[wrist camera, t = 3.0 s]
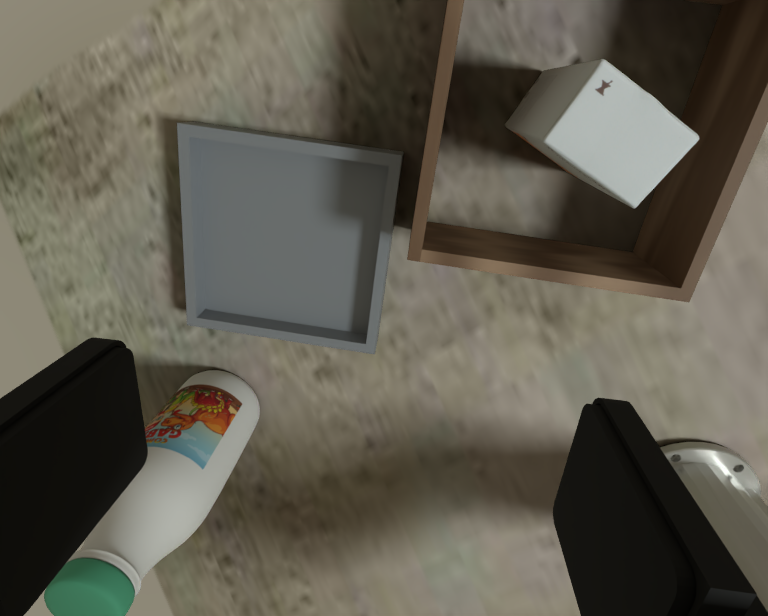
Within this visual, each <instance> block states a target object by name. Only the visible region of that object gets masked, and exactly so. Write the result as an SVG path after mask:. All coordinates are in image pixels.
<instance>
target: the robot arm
mask: <svg viewBox="0 0 768 616" xmlns="http://www.w3.org/2000/svg"><path fill="white" fill-rule="evenodd" d="M147 455H148V447H147V441H146V434H145V428H144V422H143V415H142V409H141V402H140V396H139V389H138V383H137V376H136V370H135V364H134V357H133V353H132V351H131V350H130V349H128V348H126V346H125V344H124V343H123V342H122V341H119V340H110V339H102V338H90V339H88V340H86V341H85V342H83V343H82V344H80V345H79V346H77V347H76V348H74V349H73V350H71V351H70V352H68V353H67V354H65V355H64V356H63V357H61V358H60V359H58V360H57V361H55V362H54V363H52V364H51V365H49V366H48V367H46V368H45V369H43V370H42V371H40V372H39V373H37V374H36V375H35V376H33V377H32V378H30V379H29V380H27V381H26V382H24V383H23V384H21V385H20V386H18V387H17V388H15V389H14V390H12V391H11V392H9V393H8V394H6V395H5V396H4V397H2V398H1V399H0V616H23V615H24V614H25V613H26V612H27V611H28V610H29V609H30V608H31V606H32V605H33V604H34V602H35V601H36V600H37V599H38V598H39V596H40V595H41V594H42V592H43V591H44V590H45V589H46V588H47V586H48V585H49V584H50V583H51V581H52V580H53V579H54V578H55V576H56V575H57V574H58V573H59V571H60V570H61V569H62V568H63V566H64V565H65V564H66V563H67V561H68V560H69V559H70V558H71V556H72V555H73V554H74V553H75V551H76V550H77V549H78V548H79V546H80V545H81V544H82V543H83V541H84V540H85V539H86V538H87V536H88V535H89V534H90V533H91V531H92V530H93V529H94V528H95V526H96V525H97V524H98V523H99V521H100V520H101V519H102V518H103V516H104V515H105V514H106V513H107V511H108V510H109V509H110V508H111V506H112V505H113V504H114V503H115V501H116V500H117V499H118V498H119V497H120V495H121V494H122V493H123V492H124V490H125V489H126V488H127V487H128V485H129V484H130V483H131V482H132V480H133V479H134V478H135V477H136V475H137V474H138V473H139V472H140V470H141V469H142V468H143V466H144V464H145V462H146V459H147ZM760 496H761V487H760V481H759V479H758V477H757V475H756V473H755V471H754V470H753V469H752V468H751V466H750V465H749V464H748V463H747V462H746V461H745V460H744V459H743V458H742V457H741V456H740V455H739V454H737V453H735V452H733V451H732V450H730V449H728V448H725V447H722V446H719V445H716V444H711V443H705V442H683V443H675V444H670V445H667V446H663V447H659V445H658V444H657V442H656V441H655V439H654V438H653V436H652V435H651V433H650V432H649V430H648V429H647V427H646V426H645V424H644V423H643V421H642V420H641V418H640V417H639V415H638V414H637V412H636V411H635V409H634V408H633V406H632V405H631V404H630V403H629V402H627V401H621V400H613V399H604V398H597V399H595V400H594V402H593V404H586V405H585V406H584V407H583V410H582V413H581V416H580V419H579V423H578V426H577V429H576V433H575V436H574V439H573V443H572V446H571V449H570V452H569V456H568V459H567V462H566V466H565V469H564V472H563V476H562V479H561V482H560V486H559V489H558V492H557V496H556V499H555V502H554V507H553V519H554V524H555V528H556V531H557V535H558V538H559V541H560V545H561V548H562V552H563V555H564V559H565V562H566V566H567V569H568V573H569V576H570V579H571V583H572V586H573V590H574V593H575V597H576V600H577V604H578V607H579V610H580V614H581V616H768V506H767V505H766V504H765V503H764V501H763V500H762V499H761V498H760Z"/></svg>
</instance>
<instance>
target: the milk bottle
mask: <svg viewBox="0 0 768 616" xmlns="http://www.w3.org/2000/svg"><path fill="white" fill-rule="evenodd" d="M259 416H260V407H259V402H258V398H257V396H256V394H255V392H254V391H253V390H252V388H251V387H250V386H249V385H248V384H247V383H246V382H245V381H244V380H242V379H241V378H239V377H238V376H236V375H234V374H232V373H228V372H225V371H219V370H208V371H204V372H200V373H197V374H195V375H193V376H192V377H190V378H189V379H188V380H187V381H186V382H185V383H184V384H183V385H182V386H181V387H180V388H179V390H178V391H177V392H176V393H175V394H174V395H173V396H172V398H171V399H170V400H169V401H168V402H167V403H166V405H165V406H164V407H163V408H162V409H161V410H160V412H159V413H158V414H157V415H156V416H155V417H154V419H153V420H152V421H151V422H150V423H149V424H148V426H147V427H146V428H145V434H146V441H147V447H148V455H147V459H146V462H145V464H144V466H143V468H142V469H141V470H140V472H139V473H138V474H137V475H136V477H135V478H134V479H133V480H132V482H131V483H130V484H129V485H128V487H127V488H126V489H125V490H124V492H123V493H122V494H121V495H120V497H119V498H118V499H117V500H116V501H115V503H114V504H113V505H112V506H111V508H110V509H109V510H108V511H107V513H106V514H105V515H104V516H103V518H102V519H101V520H100V521H99V523H98V524H97V525H96V526H95V528H94V529H93V530H92V531H91V533H90V534H89V535H88V536H87V539H86V541H85V543H84V545H83V547H82V548H81V550H79V551H77V552H75V553H74V554H73V555H72V556H71V558H70V559H69V560H68V561H67V563H66V564H65V565H64V566H63V568H62V569H61V570H60V571H59V573H58V574H57V575H56V576H55V578H54V579H53V580H52V581H51V583H50V584H49V585H48V586H47V588H46V590H45V594H44V599H45V602H46V605H47V607H48V609H49V610H50V612H51V613H52V614H53V615H54V616H125V615H126V613H127V612H128V610H129V608H130V606H131V604H132V603H133V600H134V597H135V596H136V595H137V594H138V593H139V591H140V588H141V580H142V579H143V577H144V576H145V575H146V573H148V572H149V570H151V568H152V567H153V566H155V565H156V564H157V563H158V562H159V561H160V560H161V559H163V558H164V557H165V556H166V555H168V554H169V553H170V552H172V551H173V550H175V549H176V548H177V547H179V546H180V545H181V544H182V543H184V542H185V541H186V540H187V539H188V538H189V537H190V536H191V535H192V534H193V533H194V532H195V531H196V530H197V529H198V527H199V526H200V525H201V523H202V522H203V521H204V519H205V518H206V516H207V515H208V513H209V511H210V510H211V508H212V506H213V505H214V503H215V501H216V500H217V498H218V496H219V494H220V493H221V491H222V489H223V487H224V485H225V483H226V481H227V480H228V478H229V476H230V474H231V472H232V470H233V469H234V467H235V465H236V463H237V461H238V459H239V457H240V455H241V454H242V452H243V450H244V448H245V446H246V444H247V442H248V440H249V438H250V437H251V435H252V433H253V431H254V429H255V427H256V424H257V422H258V420H259Z"/></svg>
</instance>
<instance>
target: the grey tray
mask: <svg viewBox="0 0 768 616" xmlns="http://www.w3.org/2000/svg"><path fill="white" fill-rule="evenodd" d="M177 134H178V154H179V174H180V193H181V213H182V233H183V253H184V273H185V293H186V312H187V325H190V326H197V327H203V328H210V329H216V330H222V331H229V332H235V333H242V334H248V335H254V336H261V337H267V338H274V339H280V340H286V341H293V342H299V343H305V344H312V345H318V346H325V347H331V348H337V349H344V350H350V351H357V352H363V353H369V354H375V350H376V345H377V341H378V334H379V327H380V319H381V312H382V305H383V298H384V291H385V284H386V276H387V269H388V262H389V255H390V248H391V241H392V233H393V226H394V219H395V212H396V205H397V198H398V191H399V183H400V176H401V169H402V162H403V155H404V152H402V151H395V150H388V149H381V148H374V147H367V146H360V145H353V144H346V143H339V142H332V141H326V140H319V139H312V138H305V137H298V136H291V135H284V134H277V133H270V132H263V131H256V130H250V129H243V128H236V127H229V126H222V125H215V124H208V123H201V122H194V121H192V122H182V123H177Z"/></svg>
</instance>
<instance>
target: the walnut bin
mask: <svg viewBox="0 0 768 616" xmlns="http://www.w3.org/2000/svg"><path fill="white" fill-rule="evenodd" d="M686 1H694V2H701V3H709V4H716V5H722V8H721V10H720V13H719V16H718V19H717V21H716V24H715V27H714V30H713V32H712V35H711V38H710V41H709V43H708V46H707V49H706V52H705V54H704V57H703V60H702V63H701V65H700V68H699V71H698V74H697V76H696V79H695V82H694V85H693V87H692V90H691V93H690V96H689V98H688V101H687V104H686V107H685V109H684V112H683V115H682V118H681V120H680V121H682V122H683V123H684V124H685V125H687V126H688V127H689V128H690V129H692V130H693V131H694V132H695V133H697V134H698V136H699V140H698V142H697V143H696V144H695V145H694V146H693V147H692V148H691V149H690V150H689V151H688V152H687V153H686V154H685V155H684V157H683V158H682V159H681V160H680V161H679V162H678V163H677V164H676V165H675V166H674V167H673V168H672V169H671V170H670V172H669V173H668V174H667V175H666V176H665V177H664V178H663V179H662V180H661V181H660V182H659V183H658V184H657V186H656V189H655V192H654V195H653V197H652V200H651V203H650V206H649V208H648V211H647V214H646V217H645V219H644V222H643V225H642V228H641V230H640V233H639V236H638V239H637V241H636V244H635V247H634V250H633V252H628V251H621V250H614V249H608V248H601V247H594V246H588V245H581V244H574V243H567V242H561V241H554V240H547V239H540V238H534V237H527V236H520V235H513V234H507V233H500V232H493V231H487V230H480V229H473V228H466V227H460V226H453V225H446V224H439V223H433V222H427V217H428V211H429V205H430V199H431V193H432V187H433V181H434V175H435V169H436V164H437V158H438V152H439V146H440V140H441V134H442V128H443V122H444V116H445V110H446V104H447V98H448V92H449V87H450V81H451V75H452V69H453V63H454V57H455V51H456V45H457V39H458V33H459V27H460V21H461V15H462V10H463V4H464V0H447V4H446V11H445V17H444V24H443V30H442V36H441V43H440V49H439V56H438V62H437V68H436V75H435V81H434V88H433V94H432V100H431V107H430V113H429V120H428V126H427V132H426V139H425V145H424V152H423V158H422V164H421V171H420V177H419V184H418V190H417V196H416V203H415V209H414V216H413V222H412V228H411V236H410V243H409V251H408V258H407V260H412V261H419V262H425V263H432V264H439V265H445V266H452V267H459V268H465V269H472V270H478V271H485V272H492V273H498V274H505V275H512V276H518V277H525V278H531V279H538V280H545V281H551V282H558V283H565V284H571V285H578V286H585V287H591V288H598V289H604V290H611V291H618V292H624V293H631V294H638V295H644V296H651V297H657V298H664V299H671V300H677V301H684V302H689V301H690V299H691V297H692V295H693V292H694V290H695V288H696V285H697V283H698V281H699V278H700V276H701V274H702V272H703V269H704V267H705V265H706V262H707V260H708V258H709V256H710V253H711V251H712V249H713V246H714V244H715V242H716V239H717V237H718V235H719V233H720V230H721V228H722V226H723V223H724V221H725V219H726V216H727V214H728V212H729V210H730V207H731V205H732V203H733V200H734V198H735V196H736V194H737V191H738V189H739V187H740V184H741V182H742V180H743V177H744V175H745V173H746V171H747V168H748V166H749V164H750V161H751V159H752V157H753V155H754V152H755V150H756V148H757V145H758V143H759V141H760V138H761V136H762V134H763V132H764V129H765V127H766V125H767V122H768V0H686Z"/></svg>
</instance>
